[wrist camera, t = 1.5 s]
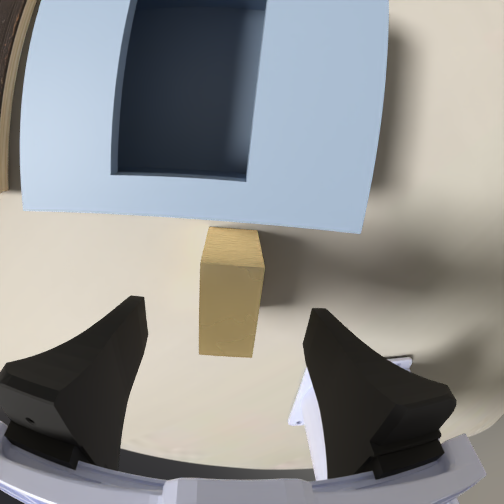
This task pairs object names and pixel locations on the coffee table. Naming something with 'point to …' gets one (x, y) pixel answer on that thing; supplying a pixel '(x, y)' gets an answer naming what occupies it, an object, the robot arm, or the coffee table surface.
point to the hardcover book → (10, 68)
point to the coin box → (205, 109)
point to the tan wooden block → (230, 292)
